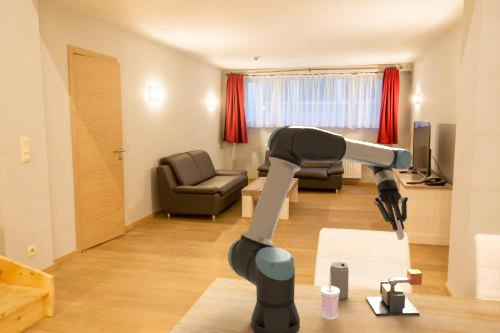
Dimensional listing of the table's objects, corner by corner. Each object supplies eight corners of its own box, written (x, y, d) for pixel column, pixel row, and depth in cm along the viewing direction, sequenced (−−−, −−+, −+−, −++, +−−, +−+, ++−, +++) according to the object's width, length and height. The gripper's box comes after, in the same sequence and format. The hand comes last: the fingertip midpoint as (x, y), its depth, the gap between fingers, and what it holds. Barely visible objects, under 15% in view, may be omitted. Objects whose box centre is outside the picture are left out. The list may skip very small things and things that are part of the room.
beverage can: (349, 300, 135) (350, 268, 133) (331, 300, 135) (332, 268, 133) (345, 292, 141) (346, 260, 139) (328, 292, 141) (328, 260, 139)
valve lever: (390, 286, 127) (390, 273, 127) (386, 282, 130) (387, 270, 130) (421, 285, 127) (422, 273, 127) (417, 281, 130) (418, 269, 130)
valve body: (376, 315, 124) (377, 292, 123) (366, 299, 135) (366, 278, 134) (419, 315, 124) (420, 292, 123) (405, 298, 135) (406, 277, 134)
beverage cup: (323, 321, 121) (324, 279, 119) (317, 311, 127) (318, 271, 125) (342, 319, 122) (343, 278, 120) (335, 310, 128) (335, 270, 126)
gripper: (399, 189, 157) (415, 242, 143) (367, 189, 157) (380, 242, 143) (405, 178, 151) (422, 233, 137) (372, 179, 151) (386, 233, 137)
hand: (401, 238), depth 140 cm, fingers closed
